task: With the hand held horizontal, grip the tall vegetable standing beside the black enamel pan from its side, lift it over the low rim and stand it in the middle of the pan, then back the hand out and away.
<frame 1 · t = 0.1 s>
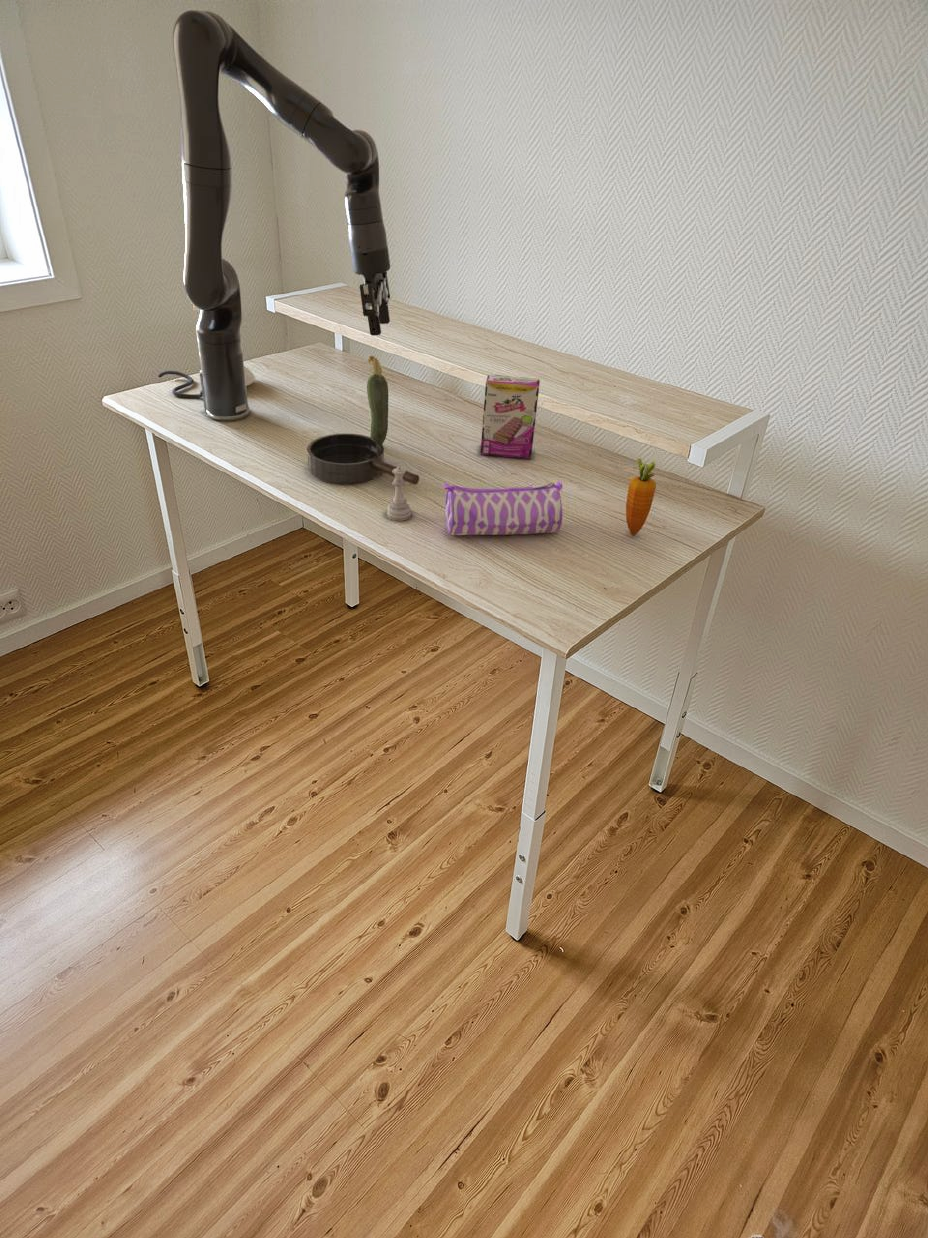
hand: (380, 328, 174), 22 cm above the table, tool pointing down, fingers open, 8 cm apart
flower in vase: (229, 386, 205), on the table
vegetable: (378, 449, 179), on the table
pan handle: (394, 471, 162), point 3 cm above the table
carrot: (632, 536, 153), on the table
pencil case: (502, 532, 152), on the table
chess piece: (398, 516, 155), on the table
pan: (346, 468, 170), on the table
candy bar box: (506, 454, 180), on the table
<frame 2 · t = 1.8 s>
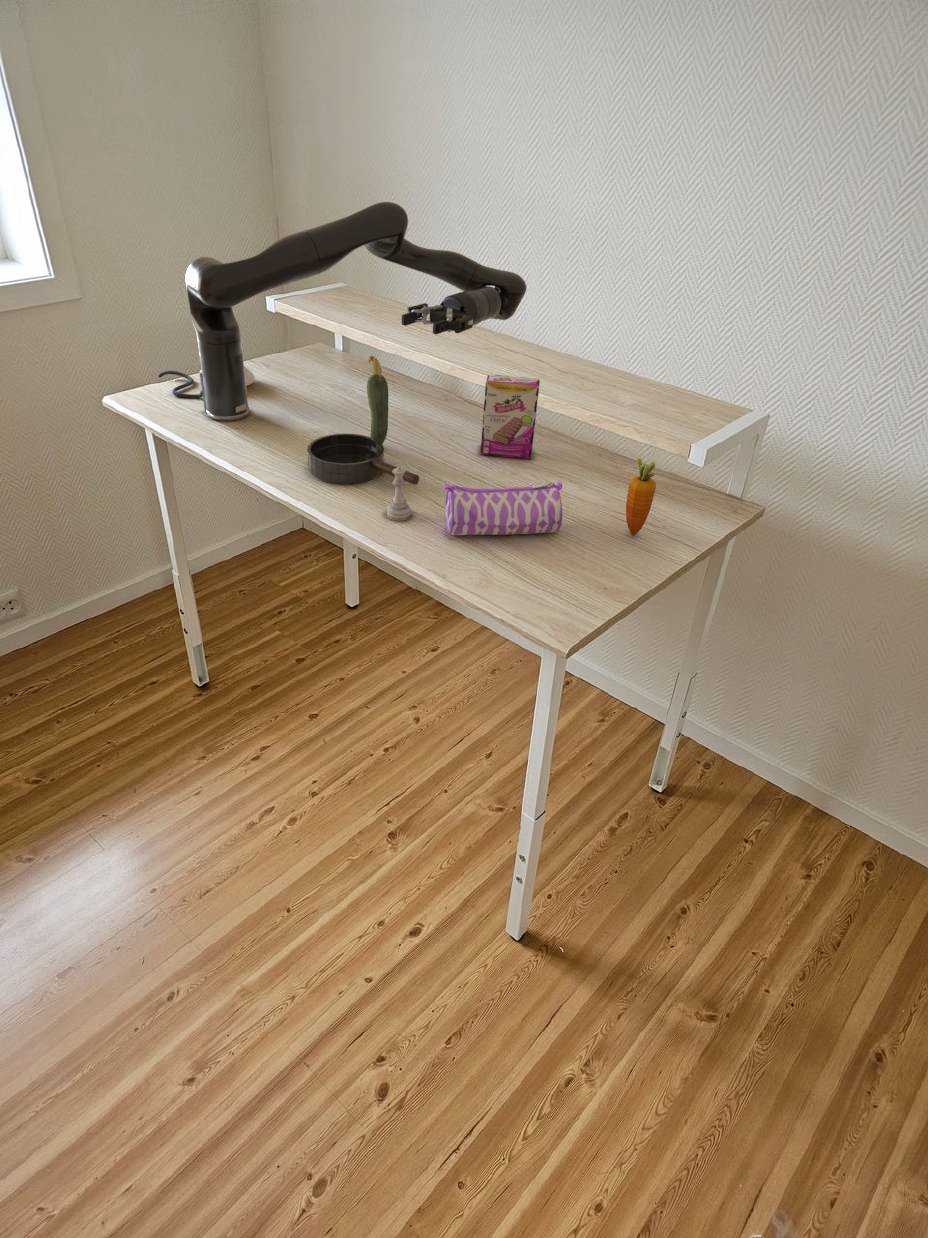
hand: (418, 324, 174), 24 cm above the table, tool horizontal, fingers open, 8 cm apart
nothing on the table moved.
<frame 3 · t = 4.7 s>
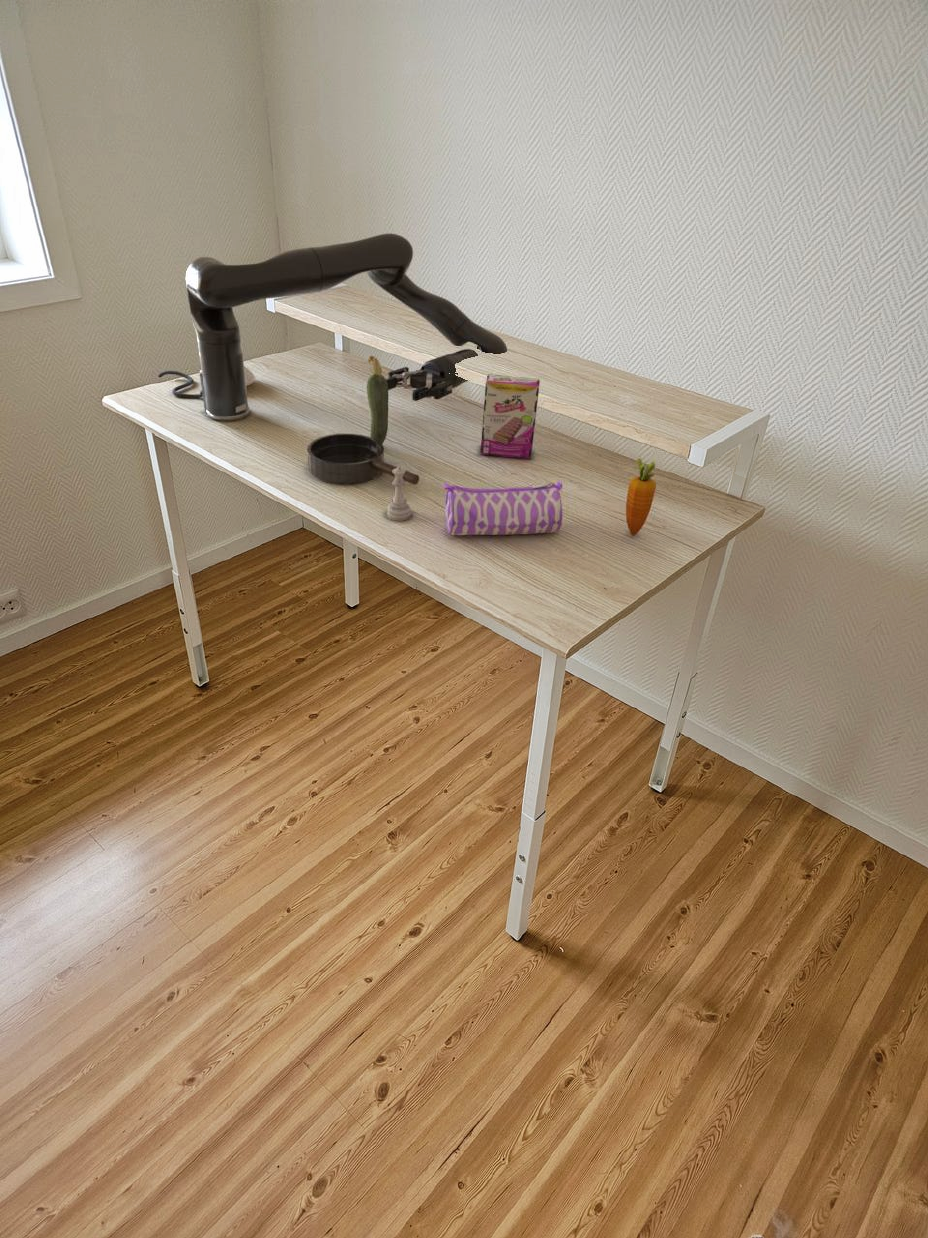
hand: (398, 391, 177), 11 cm above the table, tool horizontal, fingers open, 8 cm apart
nothing on the table moved.
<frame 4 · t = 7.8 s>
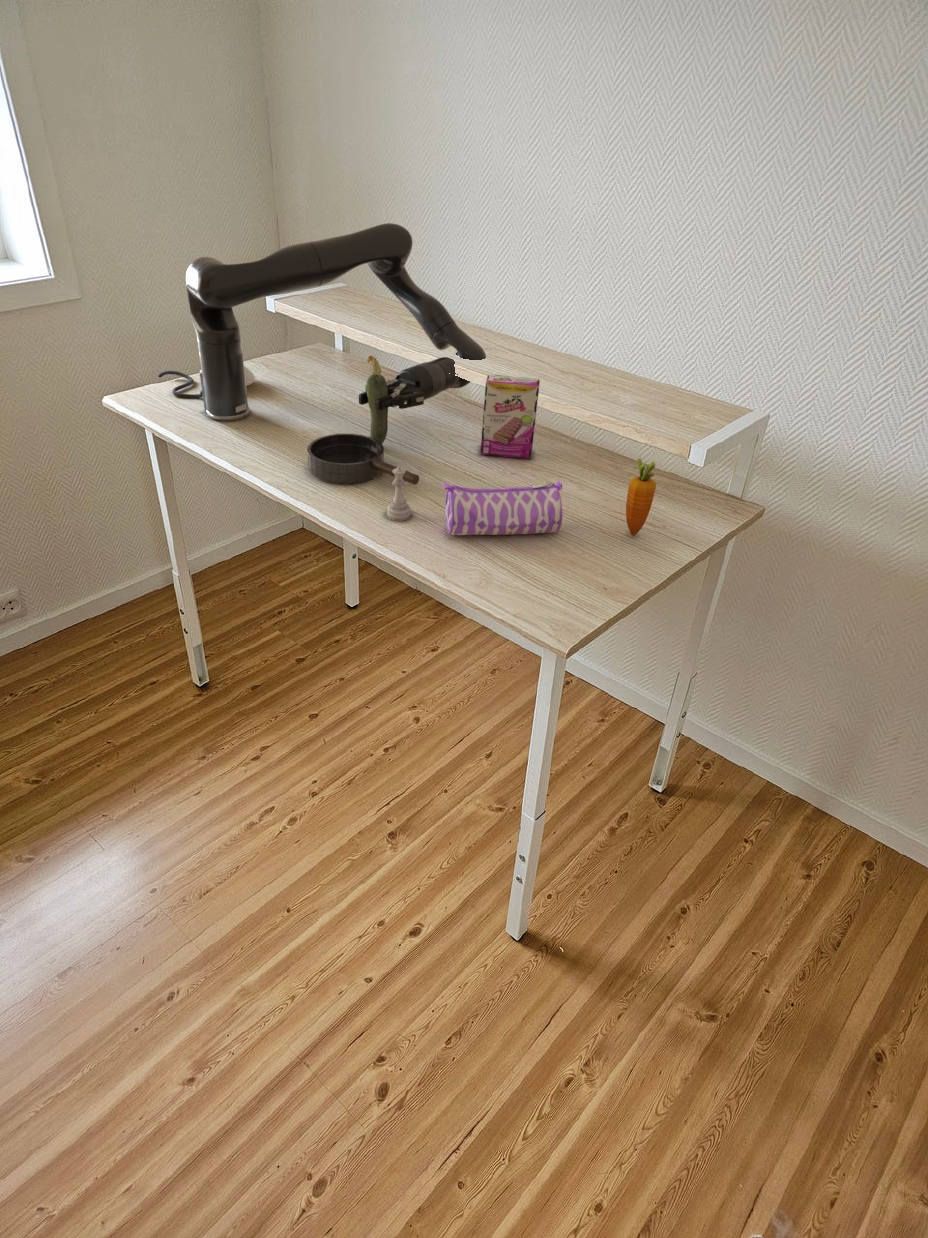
hand: (368, 402, 171), 11 cm above the table, tool horizontal, fingers closed on vegetable, 4 cm apart
vegetable: (378, 449, 179), on the table, touching gripper
everything else where it was.
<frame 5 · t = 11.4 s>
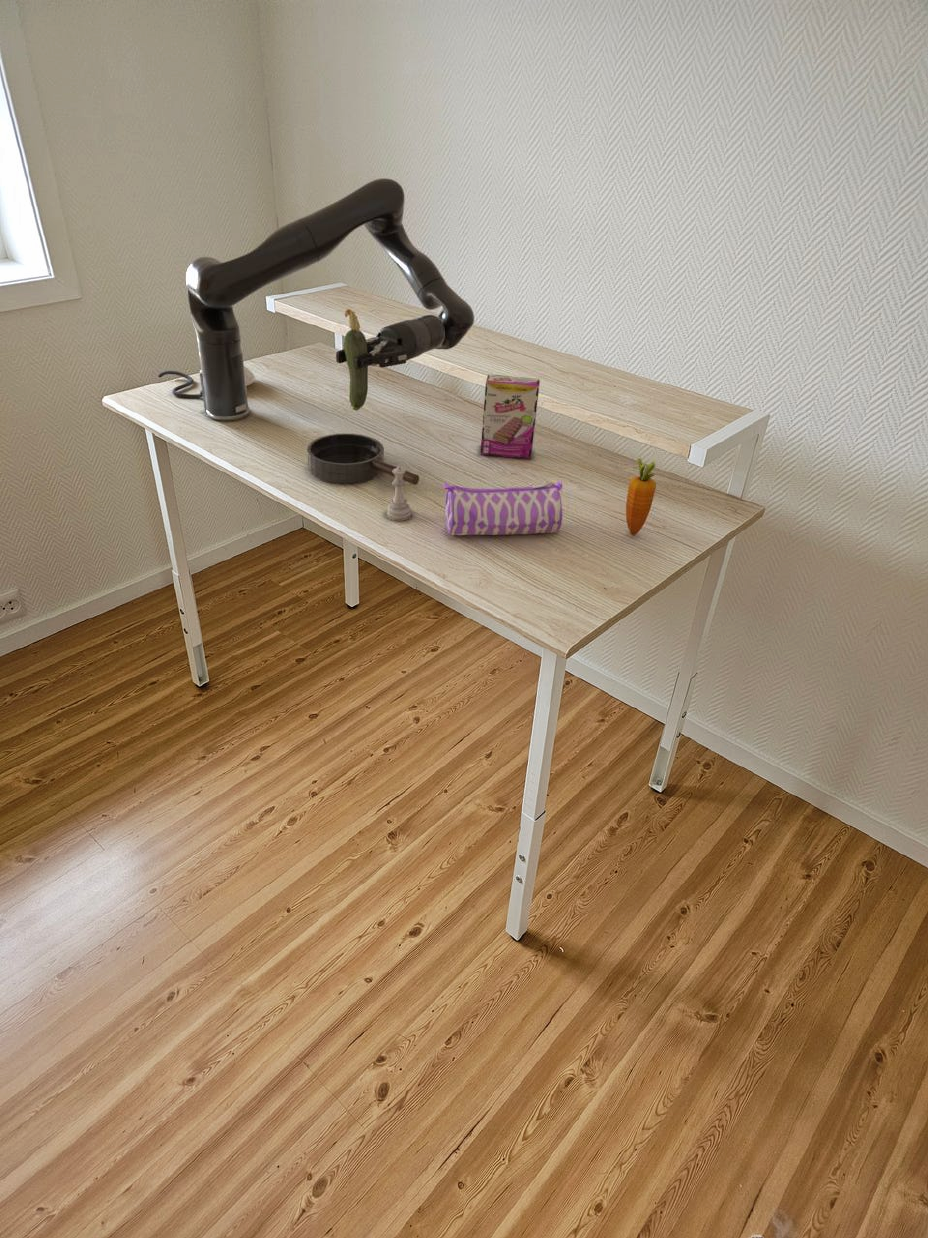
hand: (346, 360, 159), 22 cm above the table, tool horizontal, fingers closed on vegetable, 4 cm apart
vegetable: (358, 412, 167), point 10 cm above the table, touching gripper
everything else where it was.
when the fingers open (12 cm above the table, at t = 15.2 s): vegetable stays where it is, resting on pan.
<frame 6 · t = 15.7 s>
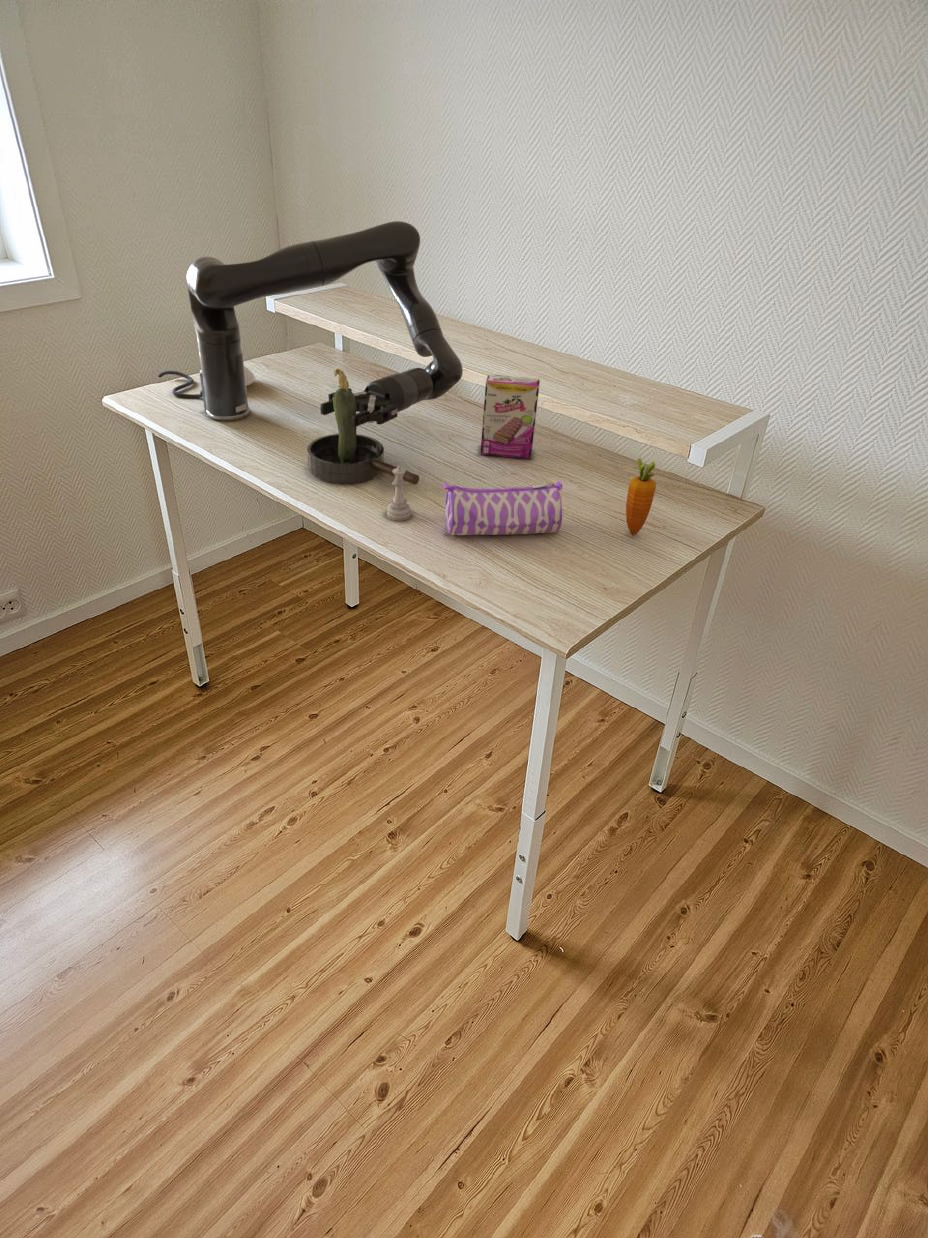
hand: (337, 415, 162), 12 cm above the table, tool horizontal, fingers open, 8 cm apart
vegetable: (346, 466, 170), resting on pan
everything else where it was.
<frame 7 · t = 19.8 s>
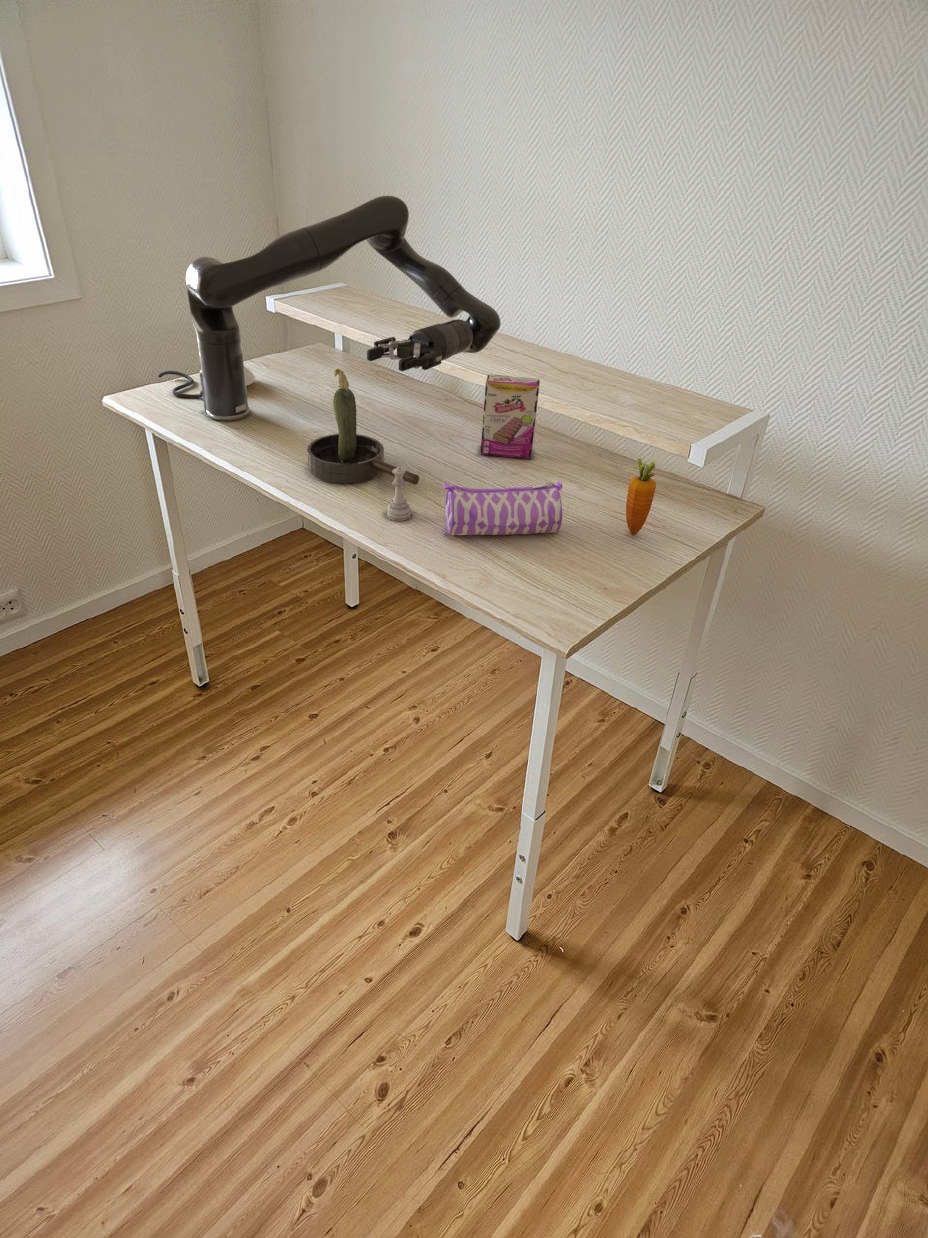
hand: (384, 360, 166), 20 cm above the table, tool horizontal, fingers open, 8 cm apart
nothing on the table moved.
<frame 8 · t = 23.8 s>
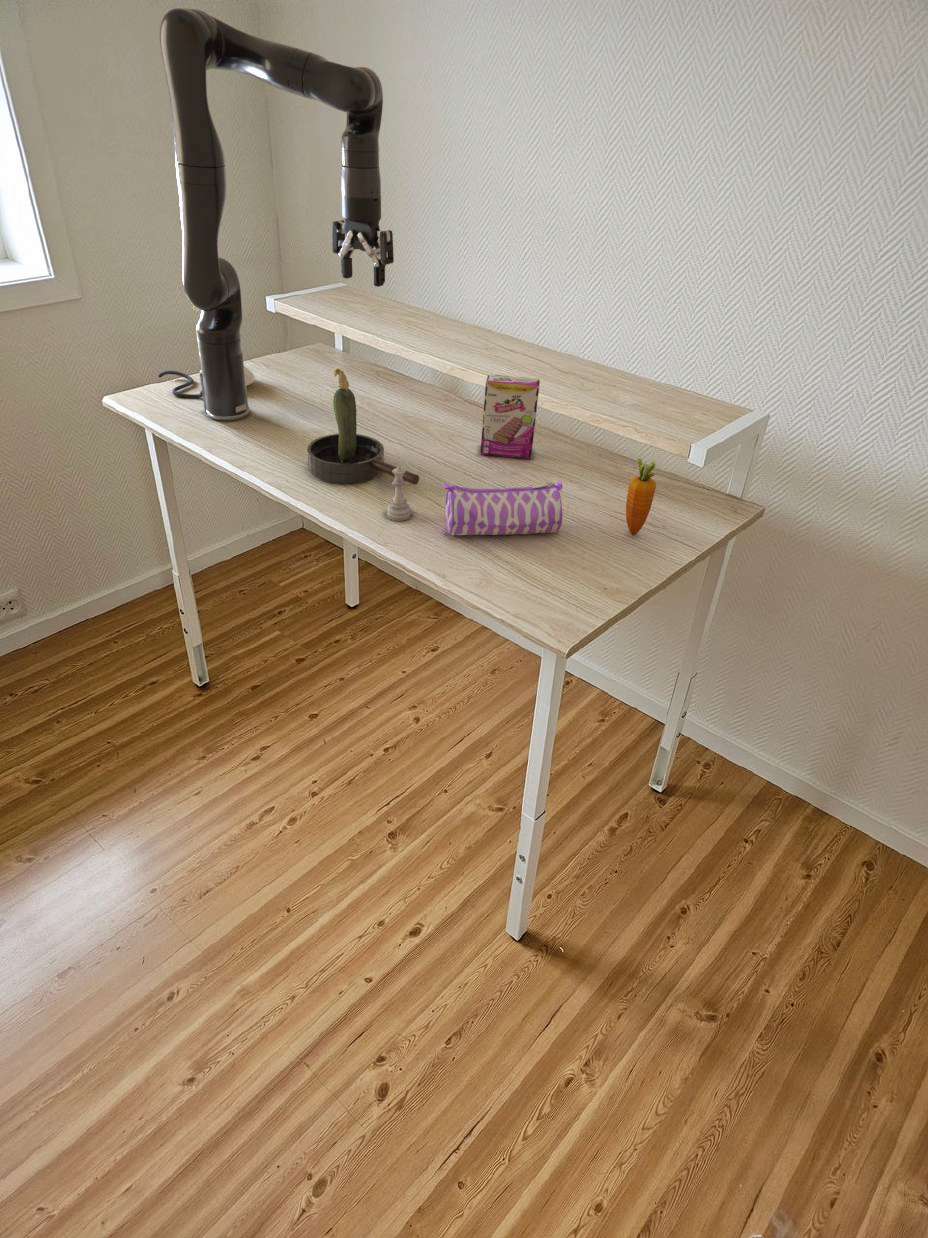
hand: (363, 281, 167), 32 cm above the table, tool pointing down, fingers open, 8 cm apart
nothing on the table moved.
at the end: vegetable inside the target area in the pan (0.2 cm from its centre), point 0.4 cm above the pan's base; the gripper is holding nothing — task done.
